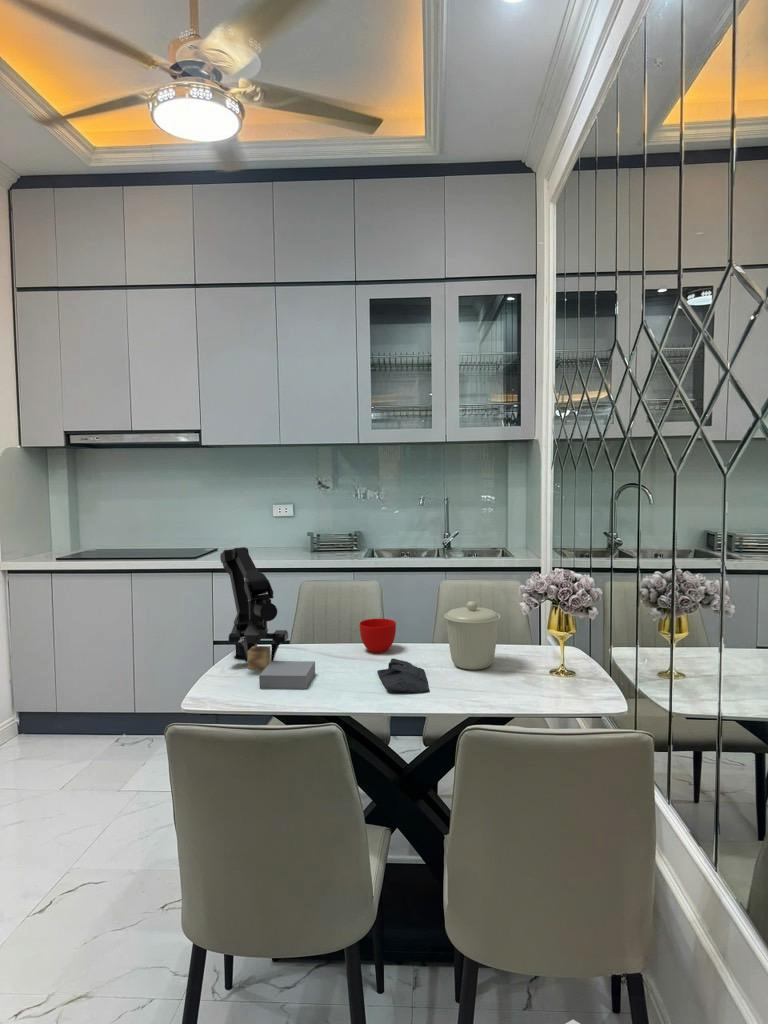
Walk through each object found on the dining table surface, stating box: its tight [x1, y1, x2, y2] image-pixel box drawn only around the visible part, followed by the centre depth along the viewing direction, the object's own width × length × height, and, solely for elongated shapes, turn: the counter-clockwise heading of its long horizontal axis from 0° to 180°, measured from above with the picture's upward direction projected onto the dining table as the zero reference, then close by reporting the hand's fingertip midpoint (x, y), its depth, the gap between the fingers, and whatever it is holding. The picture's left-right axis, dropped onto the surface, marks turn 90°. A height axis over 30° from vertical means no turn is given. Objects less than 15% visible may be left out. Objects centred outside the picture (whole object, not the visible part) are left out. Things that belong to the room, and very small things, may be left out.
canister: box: [443, 600, 501, 671], centre depth 203 cm, size 18×18×21 cm
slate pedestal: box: [258, 660, 316, 690], centre depth 192 cm, size 14×14×4 cm
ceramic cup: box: [359, 618, 397, 654], centre depth 224 cm, size 13×17×10 cm
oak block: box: [247, 645, 272, 670], centre depth 207 cm, size 6×6×6 cm
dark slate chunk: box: [376, 658, 431, 694], centre depth 190 cm, size 15×22×5 cm
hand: (259, 661), depth 207 cm, fingers open, 8 cm apart
